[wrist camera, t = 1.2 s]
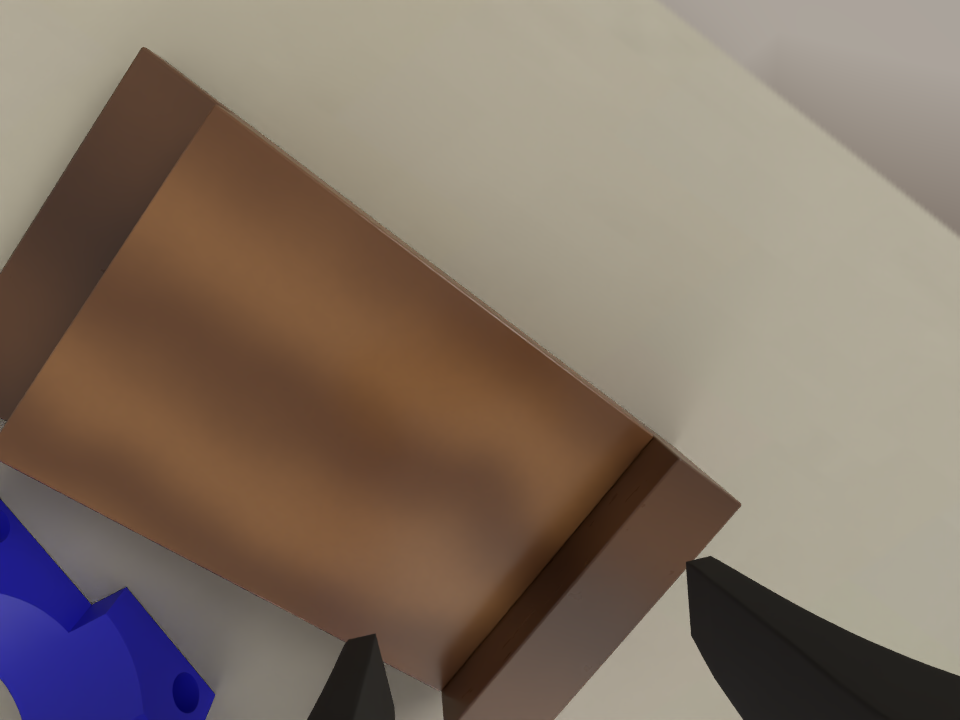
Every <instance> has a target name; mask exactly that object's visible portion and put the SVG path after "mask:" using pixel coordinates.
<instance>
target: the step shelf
mask: <svg viewBox="0 0 960 720" xmlns="http://www.w3.org/2000/svg"><path fill="white" fill-rule="evenodd" d="M0 418H2V419H3V420H5V421H7V422H6V424H5V425H4V427H3V428H2V430H1V431H0V462H2V463H4V464H6V465H8V466H10V467H12V468H14V469H16V470H18V471H20V472H21V473H23V474H25V475H27V476H29V477H31V478H33V479H35V480H37V481H39V482H41V483H42V484H44V485H46V486H48V487H50V488H52V489H54V490H56V491H58V492H60V493H62V494H64V495H65V496H67V497H69V498H71V499H73V500H75V501H77V502H79V503H81V504H83V505H85V506H86V507H88V508H90V509H92V510H94V511H96V512H98V513H100V514H102V515H104V516H106V517H107V518H109V519H111V520H113V521H115V522H117V523H119V524H121V525H123V526H125V527H127V528H128V529H130V530H132V531H134V532H136V533H138V534H140V535H142V536H144V537H146V538H148V539H149V540H151V541H153V542H155V543H157V544H159V545H161V546H163V547H165V548H167V549H169V550H170V551H172V552H174V553H176V554H178V555H180V556H182V557H184V558H186V559H188V560H190V561H191V562H193V563H195V564H197V565H199V566H201V567H203V568H205V569H207V570H209V571H211V572H212V573H214V574H216V575H218V576H220V577H222V578H224V579H226V580H228V581H230V582H232V583H233V584H235V585H237V586H239V587H241V588H243V589H245V590H247V591H249V592H251V593H253V594H255V595H256V596H258V597H260V598H262V599H264V600H266V601H268V602H270V603H272V604H274V605H276V606H277V607H279V608H281V609H283V610H285V611H287V612H289V613H291V614H293V615H295V616H297V617H298V618H300V619H302V620H304V621H306V622H308V623H310V624H312V625H314V626H316V627H318V628H319V629H321V630H323V631H325V632H327V633H329V634H331V635H333V636H335V637H337V638H339V639H340V640H342V641H344V642H347V641H348V640H349V639H353V638H357V637H362V636H366V635H370V634H375V633H376V637H377V641H378V645H379V648H380V652H381V656H382V660H383V662H384V663H386V664H388V665H390V666H392V667H394V668H396V669H398V670H400V671H402V672H403V673H405V674H407V675H409V676H411V677H413V678H415V679H417V680H419V681H421V682H423V683H424V684H426V685H428V686H430V687H432V688H434V689H436V690H438V691H441V692H442V705H443V719H444V720H554V719H555V718H556V717H557V716H558V714H559V713H560V712H561V711H562V710H563V709H564V708H565V706H566V705H567V704H568V703H569V702H570V701H571V700H572V698H573V697H574V696H575V695H576V694H577V693H578V692H579V690H580V689H581V688H582V687H583V686H584V685H585V684H586V682H587V681H588V680H589V679H590V678H591V677H592V676H593V674H594V673H595V672H596V671H597V670H598V669H599V668H600V666H601V665H602V664H603V663H604V662H605V661H606V660H607V658H608V657H609V656H610V655H611V654H612V653H613V652H614V650H615V649H616V648H617V647H618V646H619V645H620V644H621V642H622V641H623V640H624V639H625V638H626V637H627V636H628V634H629V633H630V632H631V631H632V630H633V629H634V628H635V626H636V625H637V624H638V623H639V622H640V621H641V620H642V618H643V617H644V616H645V615H646V614H647V613H648V612H649V610H650V609H651V608H652V607H653V606H654V605H655V604H656V602H657V601H658V600H659V599H660V598H661V597H662V596H663V595H664V593H665V592H666V591H667V590H668V589H669V588H670V587H671V585H672V584H673V583H674V582H675V581H676V580H677V579H678V577H679V576H680V575H681V574H682V573H683V572H684V571H685V569H686V562H687V561H692V560H694V559H695V558H696V557H697V556H698V555H699V553H700V552H701V551H702V550H703V549H704V548H705V547H706V545H707V544H708V543H709V542H710V541H711V540H712V539H713V537H714V536H715V535H716V534H717V533H718V532H719V531H720V529H721V528H722V527H723V526H724V525H725V524H726V523H727V521H728V520H729V519H730V518H731V517H732V516H733V515H734V513H735V512H736V511H737V510H738V509H739V508H740V507H741V503H740V502H739V501H738V500H736V499H735V498H734V497H733V496H732V495H730V494H729V493H728V492H727V491H726V490H725V489H723V488H722V487H721V486H720V485H719V484H717V483H716V482H715V481H714V480H713V479H711V478H710V477H709V476H708V475H707V474H706V473H704V472H703V471H702V470H701V469H700V468H698V467H697V466H696V465H695V464H694V463H693V462H691V461H690V460H689V459H688V458H687V457H685V456H684V455H683V454H682V453H681V452H679V451H678V450H677V449H676V448H675V447H673V446H672V445H671V444H669V443H668V442H667V441H665V440H664V439H663V438H662V437H660V436H659V435H658V434H656V433H655V432H654V431H652V430H651V429H650V428H648V427H647V426H646V425H644V424H643V423H642V422H640V421H639V420H638V419H636V418H635V417H634V416H633V415H631V414H630V413H629V412H627V411H626V410H624V409H623V408H622V407H621V406H619V405H618V404H617V403H615V402H614V401H613V400H611V399H610V398H609V397H608V396H606V395H605V394H604V393H602V392H601V391H600V390H598V389H597V388H596V387H594V386H593V385H592V384H590V383H589V382H588V381H586V380H585V379H584V378H582V377H581V376H580V375H579V374H577V373H576V372H575V371H573V370H572V369H571V368H569V367H568V366H567V365H565V364H564V363H563V362H561V361H560V360H559V359H557V358H556V357H555V356H553V355H552V354H551V353H550V352H548V351H547V350H546V349H544V348H543V347H542V346H540V345H539V344H538V343H536V342H535V341H534V340H532V339H531V338H530V337H528V336H527V335H526V334H524V333H523V332H522V331H521V330H519V329H518V328H517V327H515V326H514V325H513V324H511V323H510V322H509V321H507V320H506V319H505V318H503V317H502V316H501V315H499V314H498V313H497V312H495V311H494V310H493V309H492V308H490V307H489V306H488V305H486V304H485V303H484V302H482V301H481V300H480V299H478V298H477V297H476V296H474V295H473V294H472V293H470V292H469V291H468V290H467V289H465V288H464V287H463V286H461V285H460V284H459V283H457V282H456V281H455V280H453V279H452V278H451V277H449V276H448V275H447V274H445V273H444V272H443V271H441V270H440V269H439V268H438V267H436V266H435V265H434V264H432V263H431V262H430V261H428V260H427V259H426V258H424V257H423V256H422V255H420V254H419V253H418V252H416V251H415V250H414V249H412V248H411V247H410V246H409V245H407V244H406V243H405V242H403V241H402V240H401V239H399V238H398V237H397V236H395V235H394V234H393V233H391V232H390V231H389V230H387V229H386V228H385V227H383V226H382V225H381V224H380V223H378V222H377V221H376V220H374V219H373V218H372V217H370V216H369V215H368V214H366V213H365V212H364V211H362V210H361V209H360V208H358V207H357V206H356V205H355V204H353V203H352V202H351V201H349V200H348V199H347V198H345V197H344V196H343V195H341V194H340V193H339V192H337V191H336V190H335V189H333V188H332V187H331V186H329V185H328V184H327V183H326V182H324V181H323V180H322V179H320V178H319V177H318V176H316V175H315V174H314V173H312V172H311V171H310V170H308V169H307V168H306V167H304V166H303V165H302V164H300V163H299V162H298V161H297V160H295V159H294V158H293V157H291V156H290V155H289V154H287V153H286V152H285V151H283V150H282V149H281V148H279V147H278V146H277V145H275V144H274V143H273V142H271V141H270V140H269V139H268V138H266V137H265V136H264V135H262V134H261V133H260V132H258V131H257V130H256V129H254V128H253V127H252V126H250V125H249V124H248V123H246V122H245V121H243V120H242V119H241V118H240V117H239V116H237V115H236V114H235V113H233V112H232V111H231V110H229V109H228V108H227V107H225V106H224V105H223V104H221V103H220V102H219V101H217V100H216V99H215V98H213V97H212V96H211V95H210V94H208V93H207V92H206V91H204V90H203V89H202V88H200V87H199V86H198V85H196V84H195V83H194V82H192V81H191V80H190V79H188V78H187V77H186V76H185V75H183V74H182V73H181V72H179V71H178V70H177V69H175V68H174V67H173V66H171V65H170V64H169V63H167V62H166V61H165V60H163V59H162V58H161V57H159V56H158V55H156V54H155V53H153V52H152V51H150V50H149V49H147V48H145V47H142V48H141V50H140V51H139V53H138V54H137V56H136V58H135V59H134V61H133V62H132V64H131V66H130V67H129V69H128V70H127V72H126V74H125V75H124V77H123V78H122V80H121V82H120V83H119V85H118V86H117V88H116V90H115V91H114V93H113V94H112V96H111V98H110V99H109V101H108V102H107V104H106V105H105V107H104V109H103V110H102V112H101V113H100V115H99V117H98V118H97V120H96V121H95V123H94V125H93V126H92V128H91V129H90V131H89V133H88V134H87V136H86V137H85V139H84V141H83V142H82V144H81V145H80V147H79V148H78V150H77V152H76V153H75V155H74V156H73V158H72V160H71V161H70V163H69V164H68V166H67V168H66V169H65V171H64V172H63V174H62V176H61V177H60V179H59V180H58V182H57V184H56V185H55V187H54V188H53V190H52V192H51V193H50V195H49V196H48V198H47V199H46V201H45V203H44V204H43V206H42V207H41V209H40V211H39V212H38V214H37V215H36V217H35V219H34V220H33V222H32V223H31V225H30V227H29V228H28V230H27V231H26V233H25V235H24V236H23V238H22V239H21V241H20V242H19V244H18V246H17V247H16V249H15V250H14V252H13V254H12V255H11V257H10V258H9V260H8V262H7V263H6V265H5V266H4V268H3V270H2V271H1V273H0Z"/></svg>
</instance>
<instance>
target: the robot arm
mask: <svg viewBox="0 0 960 720" xmlns="http://www.w3.org/2000/svg"><path fill="white" fill-rule="evenodd" d="M686 572H687V585H688V599H689V612H690V626H691V636H692V638H693V640H694V641H695V643H696V645H697V647H698V649H699V651H700V653H701V655H702V656H703V658H704V660H705V662H706V664H707V666H708V667H709V669H710V671H711V673H712V674H713V676H714V678H715V680H716V681H717V683H718V684H719V685H720V687H721V688H722V690H723V691H724V693H725V694H726V696H727V697H728V698H729V700H730V701H731V703H732V704H733V706H734V707H735V709H736V710H737V711H738V713H739V714H740V716H741V717H742V718H743V720H960V676H958V675H955V674H952V673H949V672H946V671H944V670H941V669H938V668H935V667H932V666H930V665H927V664H924V663H922V662H919V661H917V660H914V659H911V658H909V657H906V656H904V655H902V654H899V653H897V652H894V651H892V650H890V649H887V648H885V647H883V646H880V645H878V644H875V643H873V642H871V641H868V640H866V639H864V638H862V637H860V636H858V635H855V634H853V633H851V632H849V631H847V630H845V629H843V628H841V627H839V626H837V625H835V624H833V623H831V622H829V621H827V620H825V619H823V618H821V617H819V616H817V615H815V614H813V613H811V612H809V611H807V610H805V609H803V608H802V607H800V606H798V605H796V604H794V603H792V602H790V601H789V600H787V599H785V598H783V597H781V596H780V595H778V594H776V593H774V592H773V591H771V590H769V589H767V588H766V587H764V586H762V585H760V584H759V583H757V582H755V581H753V580H752V579H750V578H748V577H747V576H745V575H743V574H741V573H740V572H738V571H736V570H735V569H733V568H731V567H729V566H728V565H726V564H724V563H722V562H721V561H719V560H717V559H715V558H713V557H711V556H709V557H705V558H700V559H696V560H692V561H687V562H686ZM307 720H395V710H394V704H393V700H392V696H391V692H390V688H389V684H388V680H387V676H386V672H385V668H384V664H383V660H382V656H381V652H380V648H379V645H378V641H377V637H376V633H375V634H370V635H366V636H362V637H357V638H353V639H349V640H348V641H347V642H346V643H345V645H344V647H343V649H342V651H341V653H340V655H339V657H338V660H337V662H336V664H335V666H334V668H333V670H332V672H331V674H330V676H329V679H328V681H327V683H326V685H325V687H324V689H323V691H322V693H321V695H320V696H319V698H318V700H317V702H316V704H315V706H314V708H313V710H312V711H311V713H310V715H309V717H308V719H307Z"/></svg>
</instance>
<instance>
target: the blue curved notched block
mask: <svg viewBox="0 0 960 720" xmlns="http://www.w3.org/2000/svg"><path fill="white" fill-rule="evenodd" d="M0 679H1V680H2V681H3V683H4V684H5V685H6V687H7V688H8V690H9V692H10V693H11V695H12V697H13V698H14V701H15V703H16V705H17V707H18V709H19V712H20V715H21V718H22V720H205V719H206V717H207V714H208V712H209V709H210V707H211V704H212V702H213V699H214V697H215V694H214V692H213V691H212V690H211V689H210V688H209V686H208V685H207V684H206V683H205V682H204V680H203V679H202V678H201V677H200V675H199V674H198V673H197V672H196V671H195V669H194V668H193V667H192V666H191V665H190V663H189V662H188V661H187V660H186V659H185V657H184V656H183V655H182V654H181V653H180V651H179V650H178V649H177V648H176V646H175V645H174V644H173V643H172V642H171V640H170V639H169V638H168V637H167V636H166V634H165V633H164V632H163V631H162V630H161V628H160V627H159V626H158V625H157V624H156V622H155V621H154V620H153V619H152V617H151V616H150V615H149V614H148V613H147V611H146V610H145V609H144V608H143V607H142V605H141V604H140V603H139V602H138V601H137V599H136V598H135V597H134V596H133V595H132V593H131V592H130V591H129V590H128V588H127V587H126V588H124V589H122V590H120V591H118V592H116V593H114V594H112V595H110V596H108V597H106V598H104V599H102V600H100V601H98V602H96V603H95V604H93V605H91V604H90V603H89V601H88V600H87V599H86V598H85V597H84V596H83V594H82V593H81V592H80V591H79V590H78V589H77V587H76V586H75V585H74V584H73V583H72V582H71V580H70V579H69V578H68V577H67V576H66V575H65V573H64V572H63V571H62V570H61V569H60V568H59V567H58V565H57V564H56V563H55V562H54V561H53V560H52V558H51V557H50V556H49V555H48V554H47V553H46V551H45V550H44V549H43V548H42V547H41V546H40V544H39V543H38V542H37V541H36V540H35V539H34V537H33V536H32V535H31V534H30V533H29V532H28V531H27V529H26V528H25V527H24V526H23V525H22V524H21V522H20V521H19V520H18V519H17V518H16V517H15V515H14V514H13V513H12V512H11V511H10V510H9V508H8V507H7V506H6V505H5V504H4V503H3V501H2V500H1V499H0Z"/></svg>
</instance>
